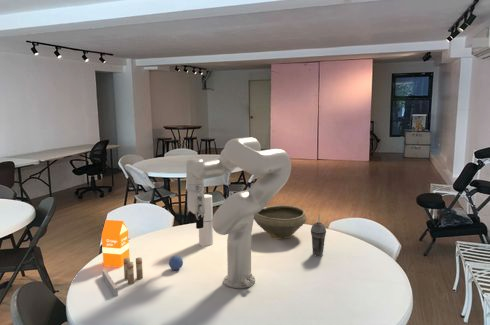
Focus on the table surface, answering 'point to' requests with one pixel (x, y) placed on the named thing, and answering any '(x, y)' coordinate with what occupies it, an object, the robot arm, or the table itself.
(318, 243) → the beverage cup
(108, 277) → the rail
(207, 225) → the cylindrical container
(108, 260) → the orange juice
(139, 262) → the pin front
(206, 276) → the table surface
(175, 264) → the ball
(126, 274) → the pin
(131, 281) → the pin
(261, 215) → the bowl
